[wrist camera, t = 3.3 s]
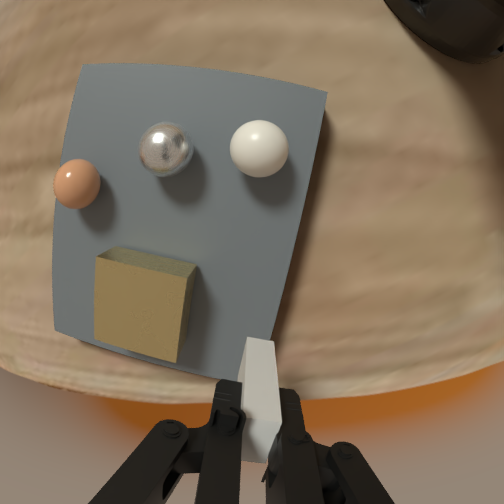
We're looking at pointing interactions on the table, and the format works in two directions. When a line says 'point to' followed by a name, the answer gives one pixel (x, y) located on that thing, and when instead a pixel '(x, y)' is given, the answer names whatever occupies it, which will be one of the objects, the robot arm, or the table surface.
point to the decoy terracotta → (76, 184)
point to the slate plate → (186, 201)
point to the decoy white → (259, 148)
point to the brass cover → (142, 302)
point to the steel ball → (165, 149)
